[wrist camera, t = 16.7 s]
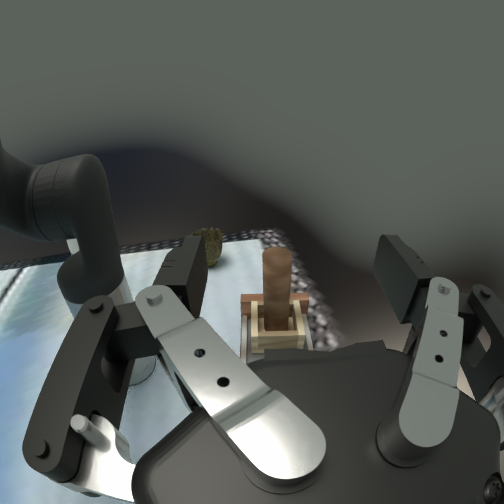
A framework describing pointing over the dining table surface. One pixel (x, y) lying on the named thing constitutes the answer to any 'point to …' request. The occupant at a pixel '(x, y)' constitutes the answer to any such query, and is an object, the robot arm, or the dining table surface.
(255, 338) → the sliding block
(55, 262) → the dining table surface
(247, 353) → the rail board
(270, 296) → the dowel
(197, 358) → the robot arm
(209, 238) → the cup
